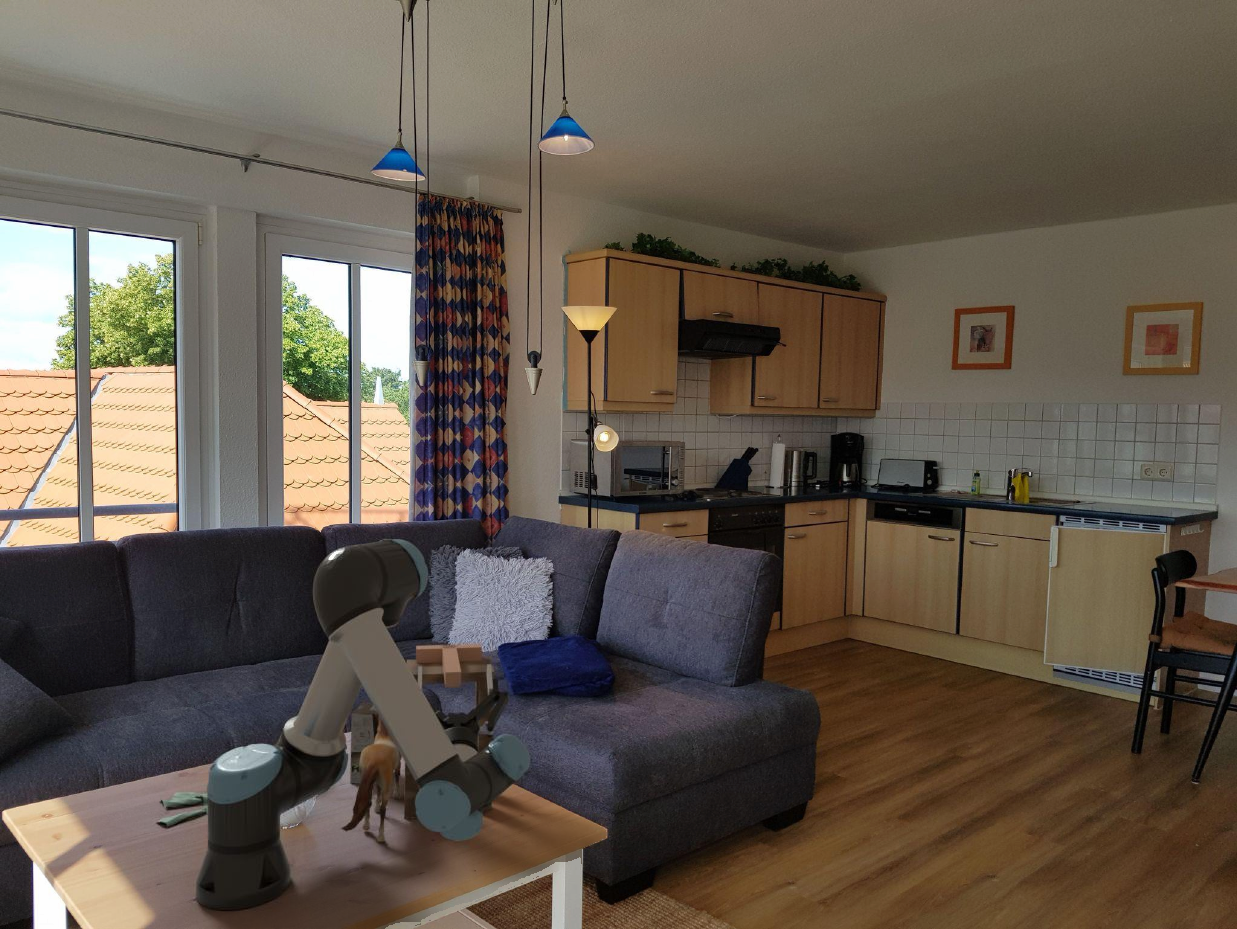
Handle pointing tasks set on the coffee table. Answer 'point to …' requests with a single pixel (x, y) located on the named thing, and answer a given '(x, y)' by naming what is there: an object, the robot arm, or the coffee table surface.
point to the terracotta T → (449, 659)
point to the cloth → (184, 801)
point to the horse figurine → (376, 779)
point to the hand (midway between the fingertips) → (454, 670)
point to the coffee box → (361, 736)
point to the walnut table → (478, 674)
